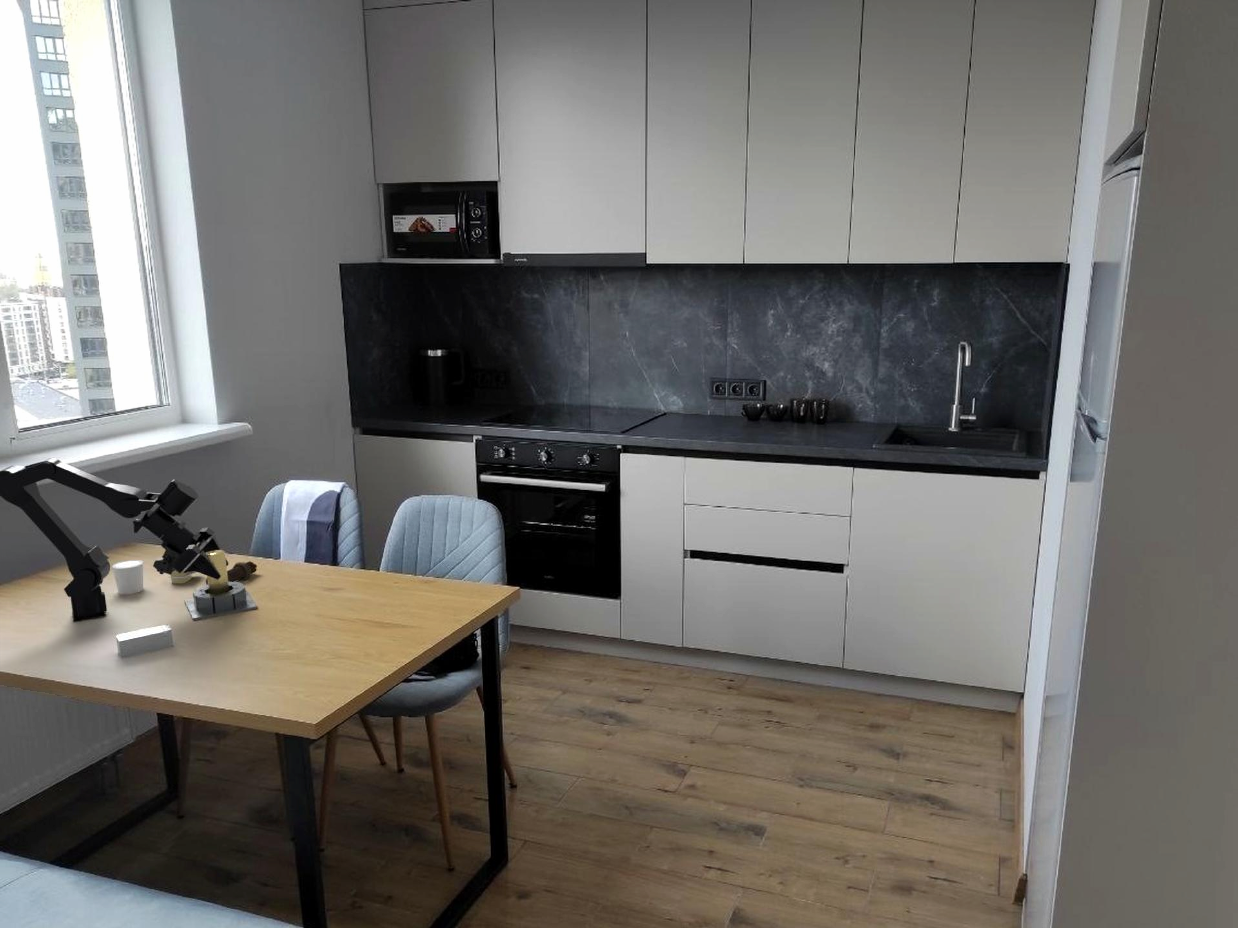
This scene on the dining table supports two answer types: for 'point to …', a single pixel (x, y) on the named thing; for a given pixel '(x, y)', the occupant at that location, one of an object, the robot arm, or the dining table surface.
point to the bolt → (240, 571)
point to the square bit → (144, 641)
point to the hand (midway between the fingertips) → (223, 571)
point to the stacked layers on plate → (181, 576)
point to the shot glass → (129, 576)
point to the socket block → (219, 602)
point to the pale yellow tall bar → (220, 564)
